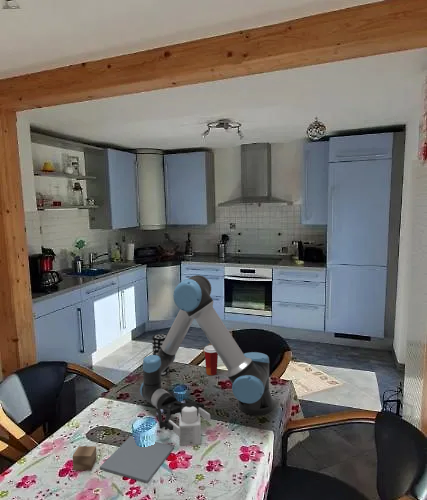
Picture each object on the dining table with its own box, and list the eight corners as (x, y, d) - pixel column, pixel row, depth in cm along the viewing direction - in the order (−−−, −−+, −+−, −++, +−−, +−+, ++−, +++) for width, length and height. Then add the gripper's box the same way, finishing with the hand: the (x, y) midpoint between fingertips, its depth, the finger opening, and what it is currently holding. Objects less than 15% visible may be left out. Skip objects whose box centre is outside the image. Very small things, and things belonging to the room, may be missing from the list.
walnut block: (96, 460, 122) (96, 446, 122) (91, 470, 117) (90, 456, 117) (79, 460, 123) (78, 446, 122) (73, 470, 118) (72, 456, 117)
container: (179, 433, 137) (179, 400, 136) (200, 432, 138) (199, 399, 136) (179, 446, 129) (178, 411, 128) (200, 444, 130) (200, 410, 129)
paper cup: (219, 370, 193) (219, 345, 191) (218, 376, 185) (217, 350, 184) (204, 369, 193) (204, 344, 192) (203, 376, 186) (202, 349, 185)
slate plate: (174, 448, 128) (174, 446, 128) (147, 483, 111) (147, 480, 111) (131, 437, 135) (131, 435, 134) (99, 469, 118) (99, 466, 118)
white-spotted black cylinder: (171, 371, 192) (171, 334, 191) (164, 377, 185) (163, 339, 183) (157, 369, 195) (157, 333, 193) (150, 375, 187) (149, 338, 185)
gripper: (189, 400, 155) (221, 421, 138) (136, 421, 139) (165, 448, 123) (189, 383, 154) (221, 403, 138) (136, 403, 139) (165, 427, 122)
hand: (194, 424), depth 130 cm, fingers open, 13 cm apart
